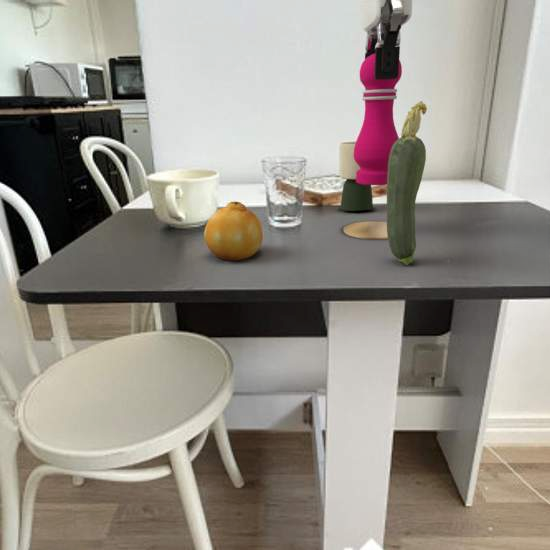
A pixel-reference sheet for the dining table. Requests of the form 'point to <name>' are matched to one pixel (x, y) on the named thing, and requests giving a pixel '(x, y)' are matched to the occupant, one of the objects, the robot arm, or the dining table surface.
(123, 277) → the dining table surface
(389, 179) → the vegetable
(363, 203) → the character mug
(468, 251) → the dining table surface
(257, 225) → the fruit
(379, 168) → the pepper mill
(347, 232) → the coaster
